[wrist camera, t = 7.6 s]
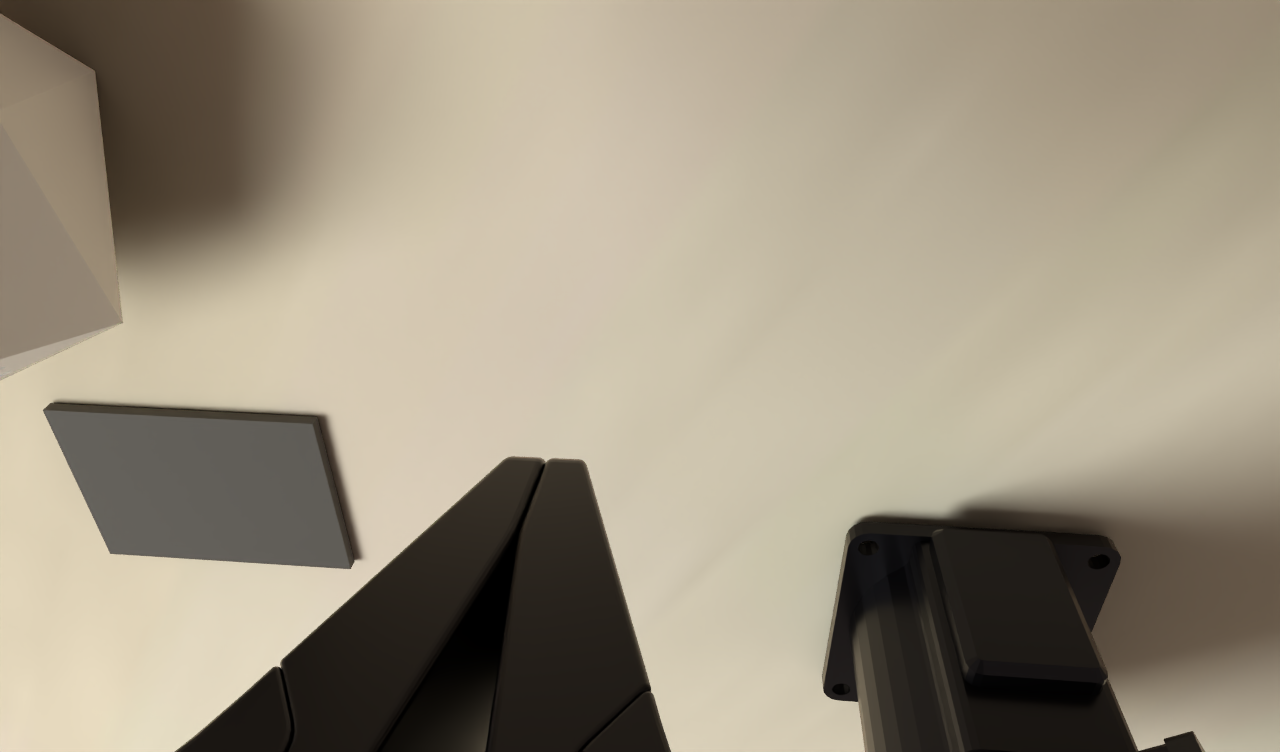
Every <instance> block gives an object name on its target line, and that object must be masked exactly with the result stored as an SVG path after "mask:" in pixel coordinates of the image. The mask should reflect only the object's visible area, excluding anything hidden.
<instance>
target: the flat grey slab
mask: <svg viewBox="0 0 1280 752" xmlns="http://www.w3.org/2000/svg"><path fill="white" fill-rule="evenodd" d="M43 412H44V414H45V416H46V418H47V420H48V422H49V424H50V426H51V429H52V431H53V433H54V435H55V437H56V439H57V441H58V443H59V446H60V448H61V450H62V452H63V454H64V456H65V458H66V460H67V463H68V465H69V467H70V469H71V471H72V473H73V475H74V477H75V480H76V482H77V484H78V486H79V488H80V490H81V492H82V494H83V497H84V499H85V501H86V503H87V505H88V507H89V509H90V511H91V514H92V516H93V518H94V520H95V522H96V524H97V526H98V528H99V531H100V533H101V535H102V537H103V539H104V541H105V543H106V545H107V548H108V550H109V552H110V554H124V555H140V556H155V557H171V558H186V559H202V560H217V561H233V562H248V563H264V564H279V565H295V566H310V567H326V568H341V569H351V567H352V565H353V563H354V557H353V553H352V549H351V546H350V542H349V538H348V534H347V530H346V526H345V522H344V518H343V515H342V511H341V507H340V503H339V499H338V495H337V491H336V488H335V484H334V480H333V476H332V472H331V468H330V464H329V460H328V457H327V453H326V449H325V445H324V441H323V437H322V433H321V429H320V426H319V422H318V418H317V417H311V416H291V415H272V414H252V413H232V412H213V411H193V410H173V409H154V408H134V407H114V406H95V405H75V404H55V403H50V404H49V405H48V406H47V407H46V408H45V409H44V410H43Z"/></svg>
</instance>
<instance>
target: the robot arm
mask: <svg viewBox="0 0 1280 752" xmlns="http://www.w3.org/2000/svg"><path fill="white" fill-rule="evenodd" d="M864 541H874V542H872V543H871V544H862V542H864ZM1099 554H1101V555H1099ZM1095 555H1099V556H1097V557H1093V556H1095ZM1091 557H1092V558H1091ZM1120 560H1121V557H1120V555H1119V553H1118V551H1117V549H1116V547H1115V545H1114V543H1113V541H1112V540H1111V539H1109V538H1108V537H1105V536H1100V535H1086V534H1069V533H1051V532H1034V531H1017V530H999V529H982V528H965V527H947V526H930V525H912V524H895V523H878V522H864V523H859V524H857V525H854V526H853V527H852V528H851V529H849V531H848V533H847V535H846V540H845V546H844V552H843V557H842V563H841V569H840V575H839V581H838V587H837V592H836V598H835V604H834V610H833V616H832V622H831V627H830V633H829V639H828V645H827V651H826V657H825V662H824V668H823V674H822V680H823V689H824V693H825V694H826V695H827V696H828V697H830V698H831V699H835V700H841V701H854V702H859V710H860V717H861V724H862V732H863V739H864V746H865V752H1205V751H1204V749H1203V747H1202V746H1201V744H1200V742H1199V741H1198V739H1197V737H1196V735H1195V734H1194V732H1193V731H1191V732H1187V733H1183V734H1180V735H1176V736H1172V737H1169V738H1165V739H1164V741H1165V744H1163V745H1159V746H1156V747H1152V748H1148V749H1145V750H1141V751H1138V749H1137V746H1136V744H1135V742H1134V739H1133V737H1132V735H1131V732H1130V730H1129V727H1128V725H1127V723H1126V720H1125V718H1124V716H1123V713H1122V711H1121V708H1120V706H1119V704H1118V701H1117V699H1116V697H1115V694H1114V692H1113V690H1112V687H1111V685H1110V682H1109V680H1108V675H1107V670H1106V667H1105V665H1104V663H1103V660H1102V658H1101V656H1100V653H1099V651H1098V649H1097V646H1096V644H1095V641H1094V639H1093V637H1092V634H1091V632H1092V629H1093V627H1094V625H1095V622H1096V620H1097V617H1098V615H1099V613H1100V610H1101V608H1102V605H1103V603H1104V601H1105V598H1106V596H1107V593H1108V591H1109V589H1110V586H1111V584H1112V582H1113V579H1114V577H1115V574H1116V572H1117V570H1118V567H1119V565H1120ZM280 666H281V668H280V667H273V668H272V669H271V670H270V671H269V672H267V673H266V674H265V675H264V676H263V677H262V678H261V679H260V680H259V681H257V682H256V683H255V684H254V685H253V686H252V687H251V688H250V689H249V690H247V691H246V692H245V693H244V694H243V695H242V696H241V697H239V698H238V699H237V700H236V701H235V702H234V703H233V704H231V705H230V706H229V707H228V708H227V709H226V710H224V711H223V712H222V713H221V714H220V715H219V716H217V717H216V718H215V719H214V720H213V721H212V722H210V723H209V724H208V725H207V726H206V727H205V728H203V729H202V730H201V731H200V732H199V733H198V734H197V735H195V736H194V737H193V738H192V739H190V740H189V741H188V742H186V743H185V744H184V745H183V746H181V747H180V748H179V749H178V750H176V751H175V752H671V750H670V747H669V744H668V741H667V738H666V735H665V732H664V729H663V726H662V723H661V720H660V716H659V713H658V709H657V706H656V702H655V699H654V695H653V694H652V693H651V686H650V683H649V679H648V676H647V672H646V669H645V665H644V662H643V659H642V655H641V652H640V648H639V645H638V641H637V638H636V634H635V631H634V627H633V624H632V621H631V617H630V614H629V610H628V607H627V603H626V600H625V596H624V593H623V589H622V586H621V583H620V579H619V576H618V572H617V569H616V565H615V562H614V558H613V555H612V551H611V548H610V545H609V541H608V538H607V534H606V531H605V527H604V524H603V520H602V517H601V513H600V510H599V507H598V503H597V500H596V496H595V493H594V489H593V486H592V482H591V479H590V475H589V472H588V469H587V465H586V463H585V462H584V461H583V460H579V459H558V458H552V459H550V460H548V461H547V462H545V461H544V460H543V459H542V458H536V457H515V456H513V457H508V458H506V459H504V460H503V461H502V462H501V463H500V464H499V465H497V466H496V467H495V468H494V469H493V470H492V471H491V472H490V473H489V474H487V475H486V476H485V477H484V478H483V479H482V480H481V481H480V482H479V483H477V484H476V485H475V486H474V487H473V488H472V489H471V490H470V491H469V492H468V493H466V494H465V495H464V496H463V497H462V498H461V499H460V500H459V501H458V502H456V503H455V504H454V505H453V506H452V507H451V508H450V509H449V510H448V511H446V512H445V513H444V514H443V515H442V516H441V517H440V518H439V519H438V520H436V521H435V522H434V523H433V524H432V525H431V526H430V527H429V528H428V529H426V530H425V531H424V532H423V533H422V534H421V535H420V536H419V537H418V538H416V539H415V540H414V541H413V542H412V543H411V544H410V545H409V546H408V547H407V548H405V549H404V550H403V551H402V552H401V553H400V554H399V555H398V556H397V557H395V558H394V559H393V560H392V561H391V562H390V563H389V564H388V565H387V566H385V567H384V568H383V569H382V570H381V571H380V572H379V573H378V574H377V575H375V576H374V577H373V578H372V579H371V580H370V581H369V582H368V583H367V584H365V585H364V586H363V587H362V588H361V589H360V590H359V591H358V592H357V593H355V594H354V595H353V596H352V597H351V598H350V599H349V600H348V601H347V602H346V603H344V604H343V605H342V606H341V607H340V608H339V609H338V610H337V611H336V612H334V613H333V614H332V615H331V616H330V617H329V618H328V619H327V620H326V621H324V622H323V623H322V624H321V625H320V626H319V627H318V628H317V629H316V630H314V631H313V632H312V633H311V634H310V635H309V636H308V637H307V638H306V639H304V640H303V641H302V642H301V643H300V644H299V645H298V646H297V647H296V648H294V649H293V650H292V651H291V652H290V653H289V654H288V655H287V656H286V657H285V658H283V659H282V660H281V663H280Z"/></svg>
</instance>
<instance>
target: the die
mask: <svg viewBox="0 0 1280 752" xmlns="http://www.w3.org/2000/svg"><path fill="white" fill-rule="evenodd" d="M121 323H123V321H122V312H121V303H120V294H119V284H118V275H117V266H116V257H115V248H114V239H113V230H112V221H111V212H110V202H109V193H108V184H107V175H106V166H105V157H104V148H103V139H102V129H101V120H100V111H99V102H98V93H97V84H96V75H95V71H94V70H93V69H91V68H89V67H88V66H86V65H84V64H83V63H81V62H79V61H78V60H76V59H75V58H73V57H71V56H70V55H68V54H66V53H65V52H63V51H61V50H60V49H58V48H56V47H55V46H53V45H51V44H50V43H48V42H46V41H45V40H43V39H41V38H40V37H38V36H37V35H35V34H33V33H32V32H30V31H28V30H27V29H25V28H23V27H22V26H20V25H18V24H17V23H15V22H13V21H12V20H10V19H8V18H7V17H5V16H3V15H2V14H0V380H2V379H4V378H6V377H8V376H11V375H13V374H15V373H17V372H19V371H21V370H23V369H25V368H28V367H30V366H32V365H34V364H36V363H38V362H40V361H42V360H45V359H47V358H49V357H51V356H53V355H55V354H57V353H59V352H62V351H64V350H66V349H68V348H70V347H72V346H74V345H76V344H79V343H81V342H83V341H85V340H87V339H89V338H91V337H93V336H96V335H98V334H100V333H102V332H104V331H106V330H108V329H110V328H113V327H115V326H117V325H119V324H121Z"/></svg>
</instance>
